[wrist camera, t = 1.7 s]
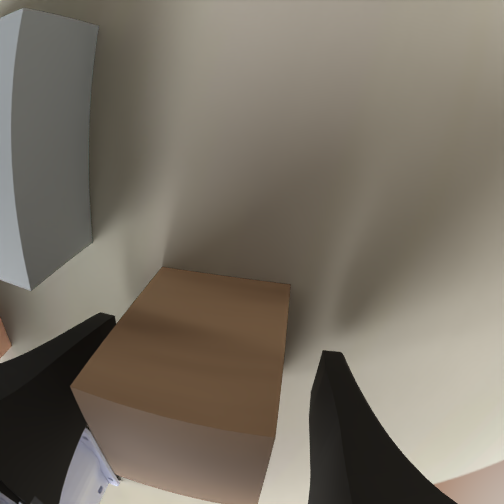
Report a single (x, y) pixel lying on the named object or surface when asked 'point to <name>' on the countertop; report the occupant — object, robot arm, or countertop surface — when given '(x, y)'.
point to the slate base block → (44, 143)
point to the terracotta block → (3, 340)
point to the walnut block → (191, 385)
